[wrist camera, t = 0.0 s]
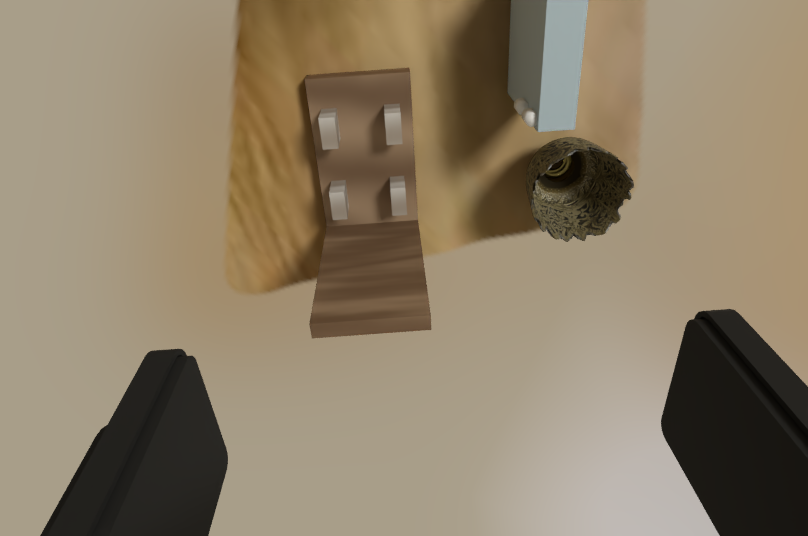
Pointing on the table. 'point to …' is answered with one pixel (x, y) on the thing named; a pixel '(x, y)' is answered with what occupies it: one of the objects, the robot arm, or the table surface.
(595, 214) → the cup
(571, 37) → the door
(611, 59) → the table surface
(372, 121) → the cabinet base
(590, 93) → the table surface
